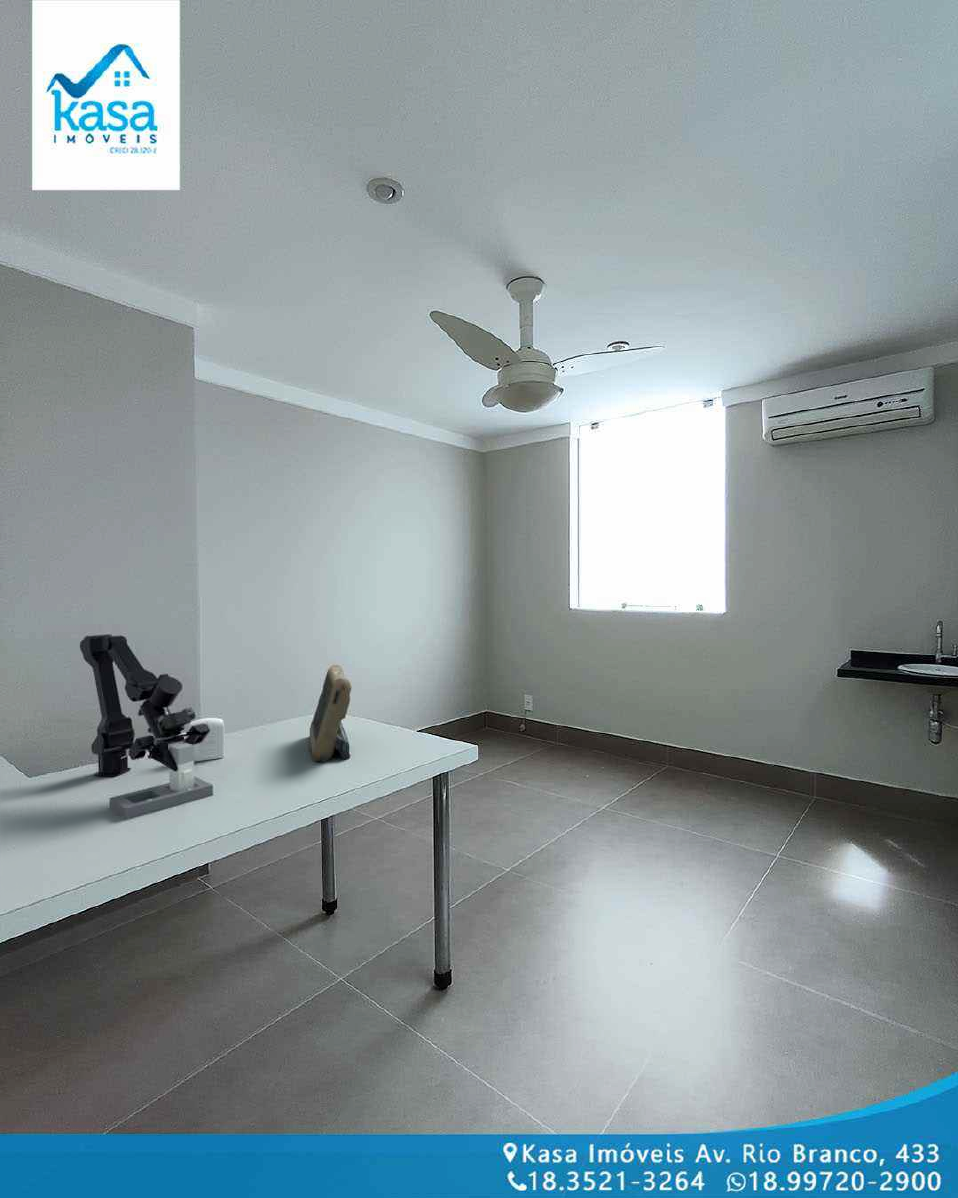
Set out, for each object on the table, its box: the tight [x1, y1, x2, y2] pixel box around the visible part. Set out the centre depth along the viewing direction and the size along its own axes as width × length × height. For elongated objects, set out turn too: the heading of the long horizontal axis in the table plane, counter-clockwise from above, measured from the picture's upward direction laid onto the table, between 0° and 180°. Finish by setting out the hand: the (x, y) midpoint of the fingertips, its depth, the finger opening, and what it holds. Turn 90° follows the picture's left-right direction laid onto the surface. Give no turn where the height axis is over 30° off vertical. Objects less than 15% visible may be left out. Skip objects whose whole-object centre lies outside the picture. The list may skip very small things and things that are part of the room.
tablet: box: [308, 664, 352, 763], centre depth 191 cm, size 33×14×25 cm, turn 23°
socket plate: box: [108, 776, 214, 820], centre depth 144 cm, size 10×20×3 cm, turn 141°
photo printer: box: [187, 717, 225, 762], centre depth 178 cm, size 10×4×12 cm, turn 123°
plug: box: [168, 743, 195, 792], centre depth 147 cm, size 5×4×12 cm
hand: (185, 768), depth 147 cm, fingers closed on plug, 4 cm apart
